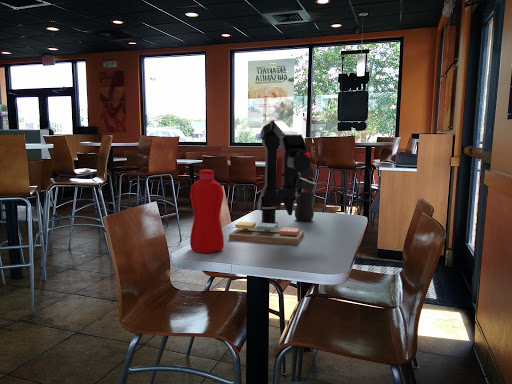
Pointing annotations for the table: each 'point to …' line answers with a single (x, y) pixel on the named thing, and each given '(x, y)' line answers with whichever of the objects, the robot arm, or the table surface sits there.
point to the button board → (266, 236)
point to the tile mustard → (245, 225)
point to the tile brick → (289, 231)
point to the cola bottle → (305, 198)
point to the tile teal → (267, 227)
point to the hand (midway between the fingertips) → (290, 215)
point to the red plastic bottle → (206, 214)
